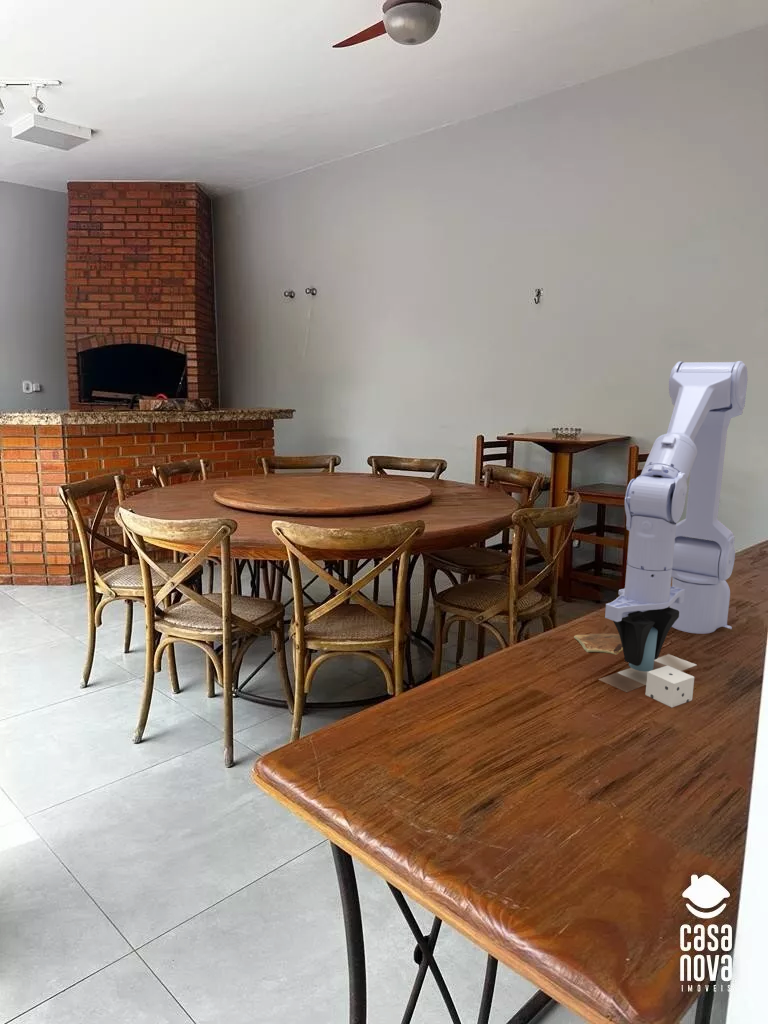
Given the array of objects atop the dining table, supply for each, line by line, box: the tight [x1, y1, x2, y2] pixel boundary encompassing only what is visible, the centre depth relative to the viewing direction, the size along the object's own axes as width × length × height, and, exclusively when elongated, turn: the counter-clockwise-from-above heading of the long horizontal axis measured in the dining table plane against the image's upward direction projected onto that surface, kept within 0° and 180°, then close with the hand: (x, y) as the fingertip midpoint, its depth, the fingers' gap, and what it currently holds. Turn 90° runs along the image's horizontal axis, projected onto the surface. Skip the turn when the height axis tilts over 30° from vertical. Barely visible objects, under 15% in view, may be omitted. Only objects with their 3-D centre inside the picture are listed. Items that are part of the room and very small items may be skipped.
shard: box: [573, 632, 623, 655], centre depth 106 cm, size 11×8×2 cm
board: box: [598, 653, 697, 693], centre depth 96 cm, size 16×5×1 cm, turn 124°
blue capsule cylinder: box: [628, 627, 658, 672], centre depth 94 cm, size 3×3×6 cm
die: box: [645, 666, 695, 708], centre depth 89 cm, size 4×4×4 cm
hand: (641, 660), depth 95 cm, fingers closed on blue capsule cylinder, 3 cm apart
